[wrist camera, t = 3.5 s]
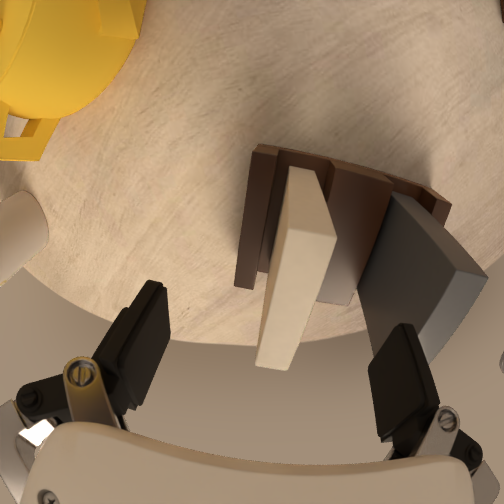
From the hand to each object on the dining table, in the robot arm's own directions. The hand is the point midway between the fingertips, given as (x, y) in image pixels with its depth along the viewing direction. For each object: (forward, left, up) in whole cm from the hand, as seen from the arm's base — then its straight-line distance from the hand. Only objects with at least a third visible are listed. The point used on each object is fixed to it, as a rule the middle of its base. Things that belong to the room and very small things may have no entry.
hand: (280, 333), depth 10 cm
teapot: (+20, -14, -12) cm, 28 cm away
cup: (+30, +6, -12) cm, 33 cm away
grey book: (-8, 0, -11) cm, 14 cm away
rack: (-4, 0, -12) cm, 13 cm away
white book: (0, 0, -11) cm, 11 cm away
